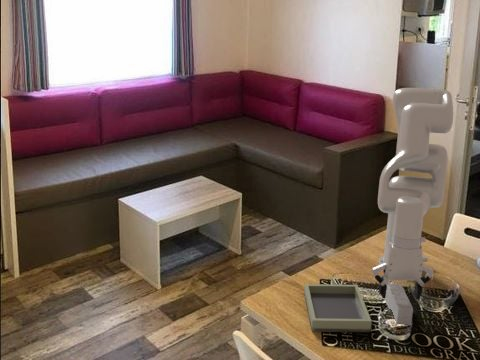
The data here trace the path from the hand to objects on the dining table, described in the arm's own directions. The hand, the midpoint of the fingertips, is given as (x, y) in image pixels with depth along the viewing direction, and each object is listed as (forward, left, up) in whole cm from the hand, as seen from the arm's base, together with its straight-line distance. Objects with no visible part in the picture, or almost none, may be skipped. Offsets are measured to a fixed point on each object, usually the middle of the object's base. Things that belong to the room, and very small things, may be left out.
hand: (399, 296), depth 163 cm
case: (+18, -1, -6) cm, 19 cm away
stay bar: (0, -1, -6) cm, 6 cm away
